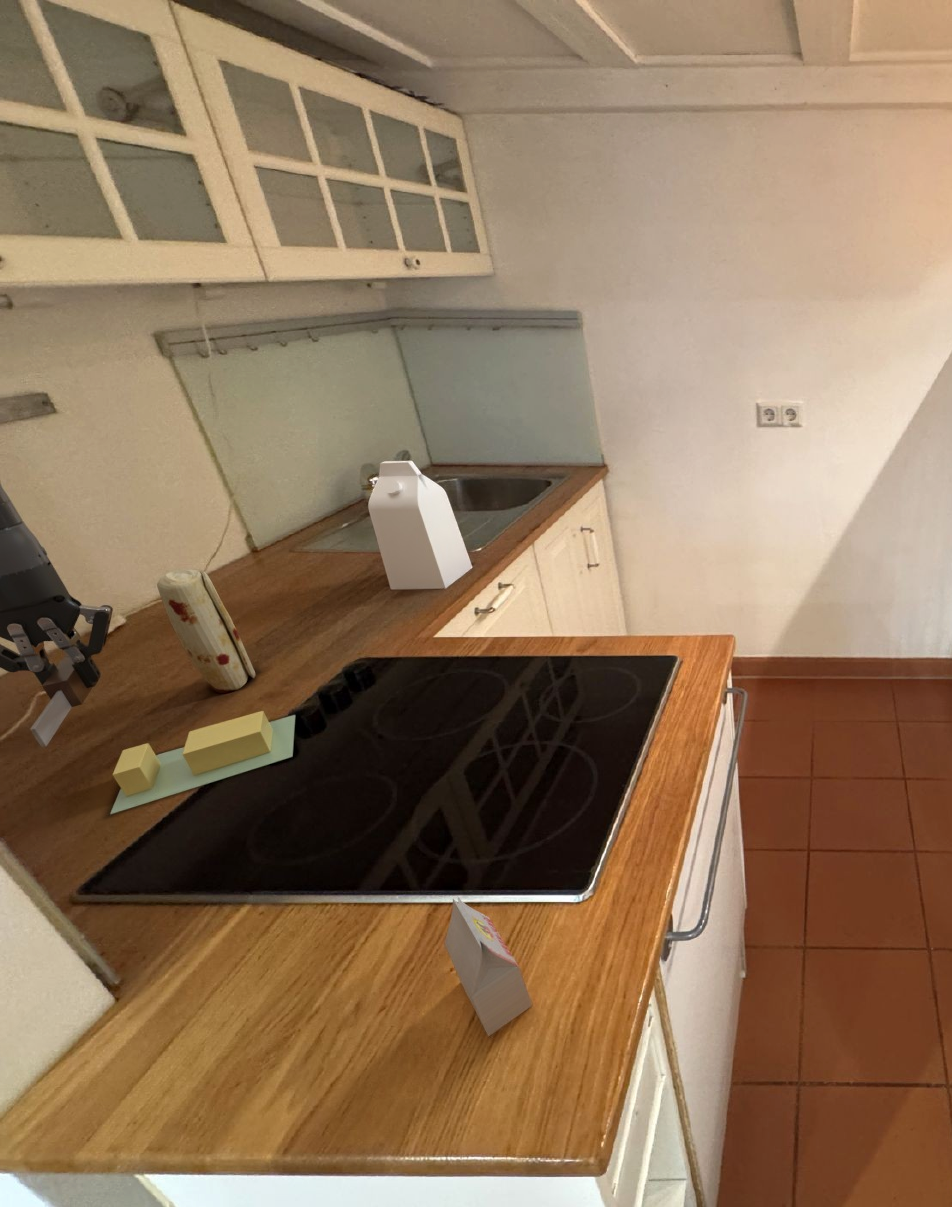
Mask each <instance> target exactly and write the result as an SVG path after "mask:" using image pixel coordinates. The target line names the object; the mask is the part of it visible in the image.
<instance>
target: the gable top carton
mask: <svg viewBox="0 0 952 1207" xmlns="http://www.w3.org/2000/svg"><path fill="white" fill-rule="evenodd" d="M456 898H457V901H456V899H454V898H452V910H451V915H450V916H451V917H450V921H449V925H448V929H447V932H446V936H445V940H444V946H445V949H446V951H447V954H448V955H449V956H448V957H449V958H450V961H451V962H452V965H453V967H454V970H455V973H456V974H457V976H458V979H459V982H460V984H461V986H462V988H463V990H464V992H465V994H466V995H467V998H468V1000H469V1001H470V1003H471V1006H472V1007H473V1009H474V1012H475V1013H476V1015H477V1017H478V1020H479V1022H480V1023H481V1026H482V1027H483V1029H484V1031H485V1033H486V1035H487V1037H490V1036H491V1035H493V1034H494V1033H496V1032H497V1031H499V1030H500V1029H502V1028H503V1027H505V1026H506V1025H507V1024H508V1023H510V1022H511V1021H513V1020H514V1019H515V1018H517V1017H518V1016H520V1015H521V1014H522V1013H524V1012H525V1011H527V1010H529V1008H531V1007H532V1006H533V1003H532V1000H531V997H530V994H529V992H528V989H527V986H526V982H525V980H524V977H523V974H522V972H521V968H520V966H519V965H518V964H519V963H517V961H516V959H515V958H514V956H513V955H512V953H511V951H510V949H509V948H508V947H507V945H506V943H505V941H504V940H503V938H502V937H501V935H500V933H499V932H498V930H497V929H496V927H495V925H494V923H493V922H492V920H491V919H490V917H489V916H487V915H485V914H484V913H482V912H480V911H478V910H476V909H475V908H472V907H470V906H469V905H468V904H466V903H465V902H464V901H462V900H461V899H460V897H459V896H458V895H456Z"/></svg>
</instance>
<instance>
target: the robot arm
mask: <svg viewBox="0 0 952 1207" xmlns="http://www.w3.org/2000/svg"><path fill="white" fill-rule="evenodd" d="M113 612H114V608H113V607H112V606H111V605H108V604H102V605H101V606H93V605H85V604H82V603H81V601H79V600H78V599H76V598H75V597H73V596H72V595H71V594H70V592H69V590H68V589H67V587H66V586H65V584H64V582H63V580H62V579H61V577H60V575H59V573H58V572H57V570H56V568H55V567H54V565H53V563H52V561H51V560H50V559H49V556H48V553H47V551H46V549H45V547H44V546H42V545H41V543H40V541H39V540H38V538H37V537H36V535H35V534H34V533H33V532H32V531H31V529H30V528H29V527H28V526H27V525H26V523H25V521H24V520H23V518H22V517H21V514H20V513H19V512H18V510H17V508H16V507H15V505H14V503H13V501H12V499H11V498H10V497H9V495H8V493H7V492H6V490H5V489H4V488H3V486H2V482H1V481H0V638H1V639H4V640H6V641H9V642H11V643H13V644H15V647H16V649H17V651H18V652H16V651H14V650H12V649H10V648H9V647H6V646H5V645H3V644H1V643H0V669H2V670H4V671H5V672H8V673H17V672H22V671H24V672H25V671H26V672H31V673H33V674H34V675H35V676H36V678H37V680H38V682H39V683H40V685H41V687H42V686H43V684H44V683H45V682H46V680H47V679H48V678H49V676H50V675H51V674H52V673H53V671H54V670H55V669H56V668H57V666H56V664H55V662H53V663H50V657H49V655H48V652H47V651H46V648H45V643H44V642H53V643H54V644H55V645H56V647H57V648H58V649H59V650H62V651H63V653H64V654H65V655H66V657H69V658H70V659H71V660H72V661H73V664H72V666H73V668H74V669H75V670H76V672H77V673H78V675H79V676H80V678H81V680H82V681H83V683H84V685H85V686H86V687H87V688H90V687H92V688H94V687H96V685H97V684H98V683H99V680H100V678H101V674H102V673H101V671H100V670H99V667H98V666H97V665H96V662H95V661H94V659H93V657H92V656H94V655H99V654H100V653H101V652H102V651H103V648H104V647H105V646H106V644H107V639H108V635H109V630H110V626H111V621H112V616H113ZM80 615H81V616H83V617H84V619H85V622H86V623H87V624H90V625H92V626H91V630H90V635H89V640H88V643H85V642H84V641H83V639H82V638H81V635H80V633H79V632H78V631H77V629H76V628H75V626H76V625H77V622H78V620H79V617H80Z"/></svg>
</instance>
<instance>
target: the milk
mask: <svg viewBox="0 0 952 1207" xmlns="http://www.w3.org/2000/svg"><path fill="white" fill-rule="evenodd" d="M378 476H379V477H378V478H377V480H376V483H375V485H374V487H373V489H372V492H371V494H370V497H369V500H368V503H367V504H368V505H367V509H368V513H369V516H370V520H371V524H372V528H373V531H374V534H375V538H376V542H377V545H378V549H379V553H380V556H381V560H382V563H383V567H384V570H385V574H386V578H387V581H388V585H389V588H390V590H392V591H393V590H394V591H395V590H436V589H437V590H438V589H439V590H441V589H442V590H443V589H448V588H449V587H450V586H451V585H452V584H454V583H455V582H456V581H458V580H459V579H460V578H462V577H463V576H464V575H465V574H467V573H468V572H469V571H471V570H472V569H473V565H472V562H471V559H470V557H469V556H470V555H469V553H468V550H467V548H466V545H465V542H464V539H463V536H462V534H461V531H460V530H461V529H460V528H459V525H458V522H457V519H456V516H455V514H454V510H453V508H452V505H451V502H450V499H449V497H448V493H447V492H446V490H445V489H444V487H442V486H441V485H440V484H438V483H436V482H435V481H433V480H432V479H431V478H429V477H427V476H426V475H424V474H422V472H421V471H420V469H419V468H418V466H417V465H416V464H415V463H414V462H413V460H389V461H387V460H386V461H382V462H379V474H378Z"/></svg>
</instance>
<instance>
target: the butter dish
mask: <svg viewBox="0 0 952 1207" xmlns="http://www.w3.org/2000/svg"><path fill="white" fill-rule="evenodd" d="M269 723H270V726H271V728H272V730H273V734H272V742H271V751H270V752H269V753H265V754H262V755H259V756H256V757H252V758H249V759H246V760H243V761H239V762H236V763H233V764H230V765H227V766H223V767H220V768H217V769H214V770H210V771H207V772H204V773H201V774H197V775H194V774H193V772H192V771H191V769H190V767H189V765H188V764H187V762H186V760H185V758H184V757H183V755H182V753H183V750H184V747H185V746H183V747H179V748H176V749H172V750H168V751H166V752H163V753H159V754H155V755H156V757H157V758H158V760H159V762H160V763H161V764H160V767H159V770H158V773H157V776H156V779H155V782H154V785H153V788H152V789H148V790H145V791H142V792H139V793H136V794H132V795H129V796H126V795H125V794H124V792H123V790H122V789H121V788H120V789H119V792H118V794H117V797H116V799H115V802H114V804H113V806H112V808H111V811H110V813H109V815H113V814H117V813H120V812H123V811H125V810H129V809H132V808H135V807H139V806H141V805H144V804H148V803H150V802H153V801H157V800H161V799H163V798H167V797H169V796H172V795H173V796H174V795H176V794H179V793H183V792H185V791H188V790H192V789H195V788H198V787H201V786H204V785H205V786H206V785H208V784H210V783H214V782H217V781H220V780H224V779H226V778H227V779H228V778H231V777H233V776H236V775H240V774H243V773H246V772H248V771H249V772H250V771H252V770H255V769H259V768H262V767H264V766H267V765H270V764H274V763H277V762H281V761H283V760H286V759H290V758H293V755H294V740H295V729H296V728H295V727H296V726H295V725H296V714H292V715H289V716H286V717H282V718H279V719H276V720H272V721H269Z"/></svg>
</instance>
